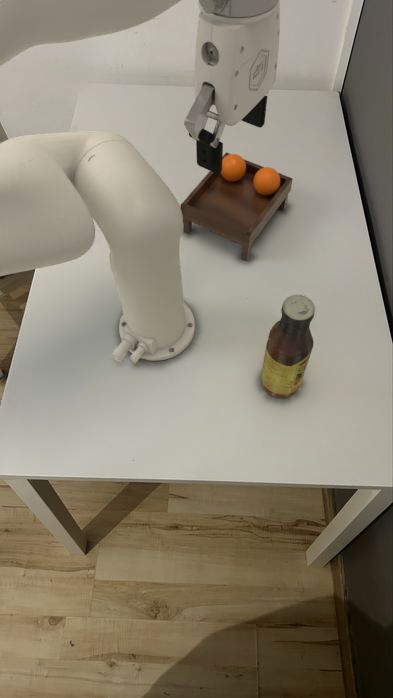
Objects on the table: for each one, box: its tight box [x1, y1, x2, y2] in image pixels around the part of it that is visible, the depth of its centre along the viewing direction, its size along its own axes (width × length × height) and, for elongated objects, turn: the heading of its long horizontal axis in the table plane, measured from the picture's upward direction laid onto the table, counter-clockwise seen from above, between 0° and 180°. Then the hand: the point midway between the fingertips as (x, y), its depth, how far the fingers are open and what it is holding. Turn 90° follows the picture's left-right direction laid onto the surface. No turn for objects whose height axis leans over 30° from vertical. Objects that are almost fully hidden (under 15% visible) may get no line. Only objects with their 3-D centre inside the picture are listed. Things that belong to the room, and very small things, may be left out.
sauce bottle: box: [260, 294, 316, 399], centre depth 70 cm, size 6×6×20 cm
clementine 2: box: [253, 166, 280, 195], centre depth 90 cm, size 5×5×5 cm
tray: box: [179, 152, 294, 262], centre depth 92 cm, size 16×14×7 cm
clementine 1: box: [221, 153, 246, 182], centre depth 92 cm, size 5×5×5 cm
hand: (231, 144), depth 60 cm, fingers open, 9 cm apart
